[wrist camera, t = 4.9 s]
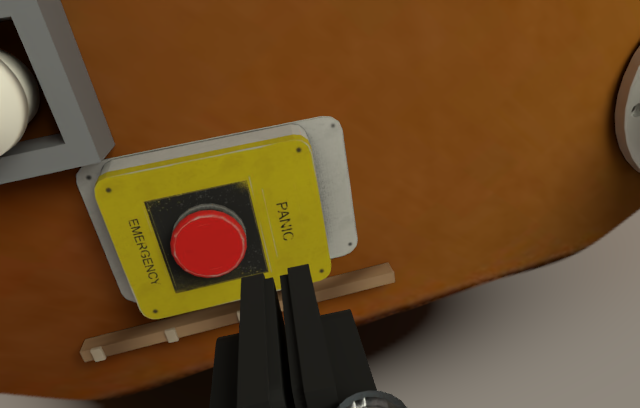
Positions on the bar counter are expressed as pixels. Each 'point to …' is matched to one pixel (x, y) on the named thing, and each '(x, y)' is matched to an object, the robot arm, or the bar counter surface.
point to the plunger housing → (55, 95)
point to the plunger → (15, 99)
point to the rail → (222, 315)
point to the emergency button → (222, 213)
